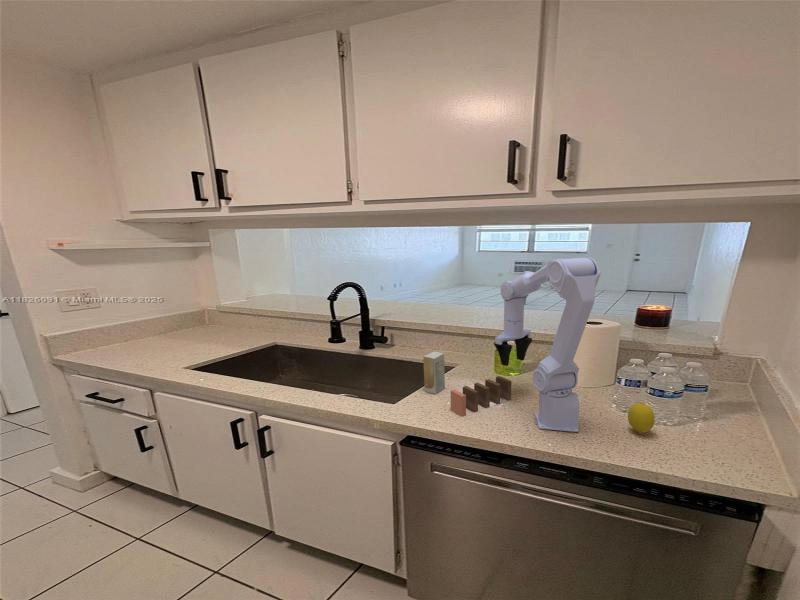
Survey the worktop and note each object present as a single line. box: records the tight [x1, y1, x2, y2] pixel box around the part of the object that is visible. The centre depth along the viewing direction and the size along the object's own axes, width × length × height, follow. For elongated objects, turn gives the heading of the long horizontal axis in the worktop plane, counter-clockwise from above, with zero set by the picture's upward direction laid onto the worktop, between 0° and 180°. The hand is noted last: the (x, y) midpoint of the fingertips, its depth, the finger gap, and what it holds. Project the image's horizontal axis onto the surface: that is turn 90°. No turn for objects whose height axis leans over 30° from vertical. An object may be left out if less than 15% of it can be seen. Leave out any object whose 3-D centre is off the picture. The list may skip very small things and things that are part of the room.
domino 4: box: [484, 378, 502, 405], centre depth 110 cm, size 1×5×6 cm, turn 31°
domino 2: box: [462, 385, 479, 413], centre depth 106 cm, size 1×5×6 cm, turn 31°
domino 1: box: [450, 388, 467, 418], centre depth 103 cm, size 1×5×6 cm, turn 31°
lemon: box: [627, 401, 656, 434], centre depth 90 cm, size 6×6×8 cm
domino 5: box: [495, 375, 512, 402], centre depth 112 cm, size 1×5×6 cm, turn 31°
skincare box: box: [423, 351, 446, 395], centre depth 119 cm, size 6×4×12 cm
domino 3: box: [473, 382, 491, 409], centre depth 108 cm, size 1×5×6 cm, turn 31°
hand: (512, 362), depth 113 cm, fingers open, 7 cm apart
